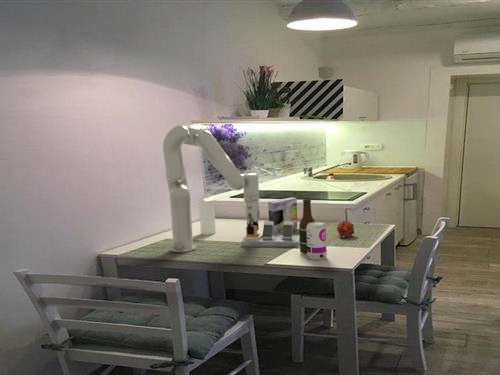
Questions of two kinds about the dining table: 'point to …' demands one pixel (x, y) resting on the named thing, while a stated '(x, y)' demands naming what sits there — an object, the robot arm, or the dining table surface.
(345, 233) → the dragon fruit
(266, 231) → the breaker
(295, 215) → the cake pan box
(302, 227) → the beer bottle
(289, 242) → the breaker panel
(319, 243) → the supplement can
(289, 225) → the block
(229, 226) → the dining table surface
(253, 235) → the orange rectangular block
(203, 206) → the milk
